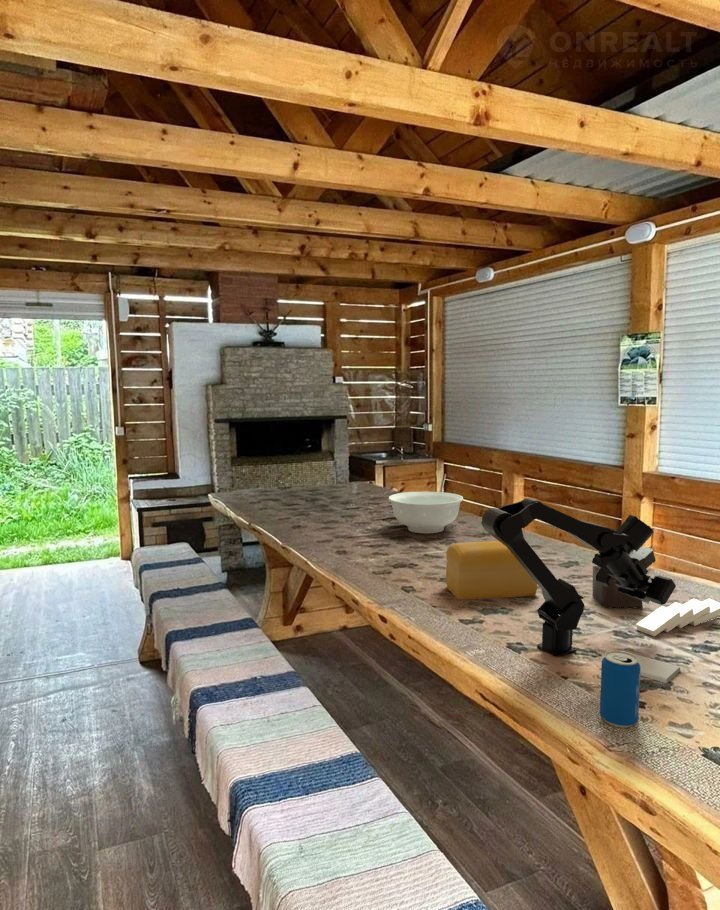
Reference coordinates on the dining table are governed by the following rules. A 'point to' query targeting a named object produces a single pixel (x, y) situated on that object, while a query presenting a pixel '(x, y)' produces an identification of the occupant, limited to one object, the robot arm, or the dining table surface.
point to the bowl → (425, 510)
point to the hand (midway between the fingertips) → (648, 601)
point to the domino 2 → (684, 614)
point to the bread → (486, 572)
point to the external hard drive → (656, 669)
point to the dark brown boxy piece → (612, 595)
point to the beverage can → (620, 689)
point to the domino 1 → (658, 620)
